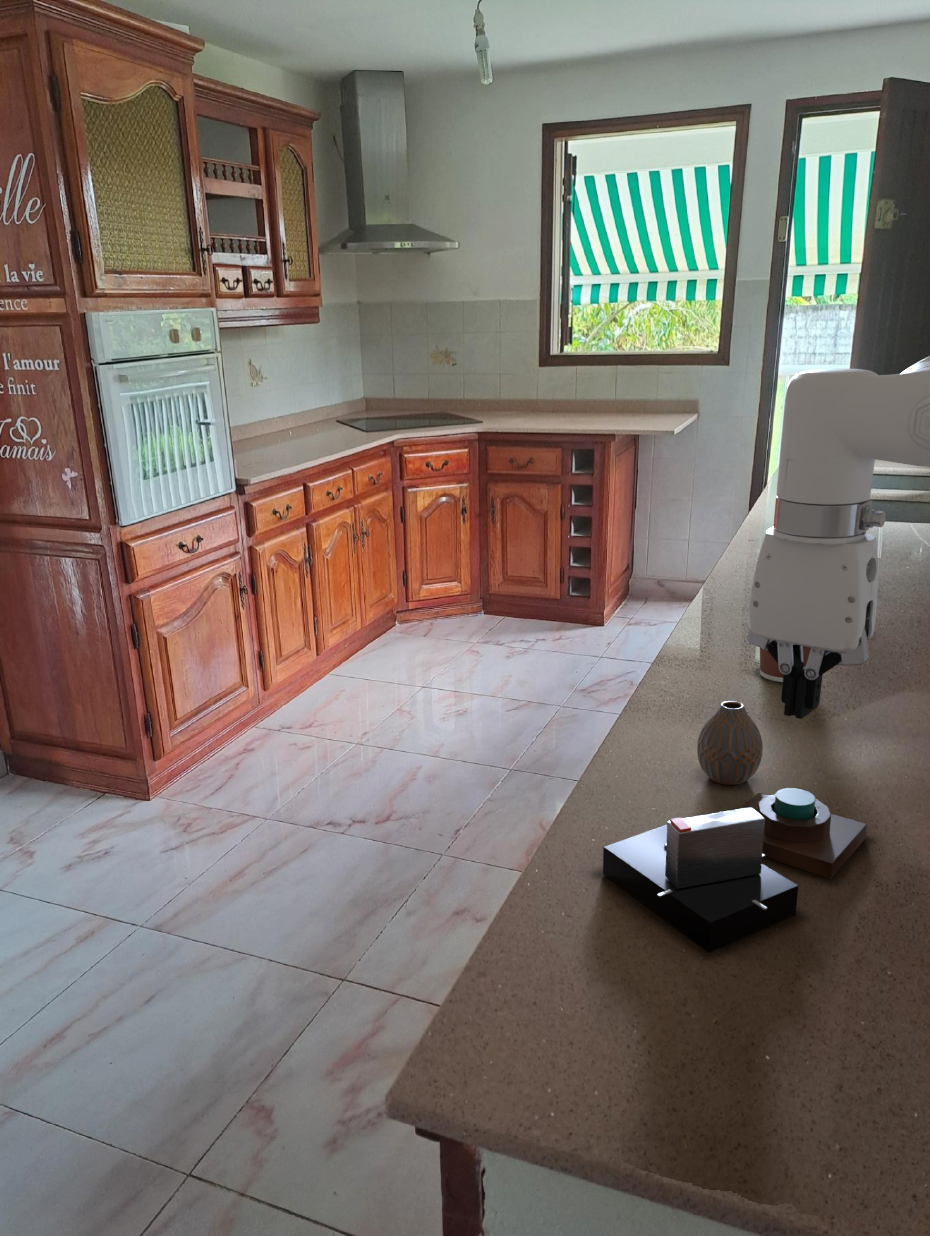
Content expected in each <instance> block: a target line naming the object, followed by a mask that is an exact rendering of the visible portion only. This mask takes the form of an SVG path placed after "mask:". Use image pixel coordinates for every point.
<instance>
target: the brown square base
mask: <svg viewBox="0 0 930 1236" xmlns="http://www.w3.org/2000/svg"><path fill="white" fill-rule="evenodd" d="M775 796H776V793H775V794H772V795H771V794H770V795H767V794H765V793H761V792H757V794H755V795H754V796H753V797H752V798H751V799H750V800H749V801H747V802H746V803H745V804H744V805H743V806H741V807H740V809H744V808H749V807H752V808H753V809H754V810H756V811H757V812H758V813H759V814H760V815H761V816H763V817H764V818H765V828H764V840H763V854H765V857H764V858H766V859H768V860H772V861H775V862H777V863H781V864H784V865H786V866H790V867H792V868H796V869H798V870H801V871H804V872H808V873H811V874H814V875H817V876H820V877H823V878H825V879H828V880H832V878H833V877H834V875H835V874H836V873H837V872H838V871H839V870H840V869H841V868H842V866H843V865H844V864H845V863H846V862H847V861H848V860H849V858H850V857H851V856H852V855H853V854H854V853H855V852H856V850H858V848H859V847H860V846H861V844H862V843H863V842H864V841H865V840H866V837H867V828H868V823H864V822H862V821H857V820H855V819H851V818H848V817H845V816H840V815H837V814H834V813H831V811H830V808H829V806H828V805H826V804H825V803H823V802H821V801H820V800H819V799H816V798H815V809H814V816H813V818H811V819H807V820H793V819H788V818H785V817H781V816H779V815H778V814H776V813H775V811H774V808H775Z"/></svg>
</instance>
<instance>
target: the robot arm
mask: <svg viewBox="0 0 930 1236" xmlns="http://www.w3.org/2000/svg"><path fill="white" fill-rule="evenodd" d="M782 417H783V419H782V428H781V437H780V438H781V440H780V452H779V461H778V471H777V472H778V473H777V482H776V483H777V484H776V497H775V503H774V515H773V524H772V525H773V526H772V527H770V528H768V529H767V530H766V531H765V534H764V537H763V540H762V543H761V547H760V550H759V552H758V557H757V561H756V564H755V570H754V574H753V579H752V584H751V585H752V586H751V591H750V597H749V603H748V604H749V606H748V615H747V617H748V619H747V621H748V628H749V630H748V634H747V637H746V638H747V642H748V643H749V644H751V645H753V646H755V647H757V648H759V649H760V648H762V649H764V650H765V649H766V650H768V652H769V653H770V654H771V656H772V657H773V658H774V659H775V661H776V662H777V663H778V665H779V671H780V672H781V673H782V674H784V675H783V682H782V686H781V695H780V701H781V703H784V707H783V708H784V709H783V715H784V716H786V717H795V719H798V720H803V719H804V718H805V717H806V716H808V715H809V714H810V713H812V712H813V711H815V710H816V709H817V708H818V707H819V704H820V701H821V691H822V685H823V684H822V683H823V676H824V675H823V674H825V673H827V672H828V671H830V670H832V669H833V668H835V667H836V666H861V665H863V664H864V663H865V662H867V661H868V660H869V658H870V653H869V644H868V640H870V639H871V638H873V635H874V632H875V628H876V621H877V612H878V611H877V610H878V591H879V590H878V589H879V588H878V587H879V560H878V547H877V546H878V545H877V537H876V536H875V535H874V534H871V533H870V534H869V533H867V531H869V529H873V528H875V527H876V528H883V527H884V525H885V522H886V518H887V513H886V511H884V510H877V508H874V507H873V499H871V494H872V485H873V477H874V471H875V463H876V460H877V461H881V462H883V461H884V462H890V463H897V464H902V465H908V466H915V467H916V466H917V467H928V468H929V467H930V355H929V356H927V357H925V358H923V359H921V360H919V361H917V362H916V363H914V364H912V365H910V366H909V367H907V368H906V369H905V370H903V371H902V372H901V373H896V374H895V373H894V374H880V375H879V374H878V373H876V372H874V371H872V370H869V369H862V368H818V369H809V370H805V371H800V372H799V373H796V374H795V375H794V376H792V378H791V379H790V380H789V382H788V384H787V386H786V391H785V398H784V405H783V416H782ZM803 646H806V647H811V650H810V653H809V657H808V661H807V664H806V667H804V663H803Z"/></svg>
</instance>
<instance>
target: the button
mask: <svg viewBox="0 0 930 1236" xmlns="http://www.w3.org/2000/svg"><path fill="white" fill-rule="evenodd" d="M775 794H776V796H775V808H774V811H775V813H776V814H778V815H779V816H781V817H785V818H788V819H793V820H807V819H811V818H813V816H814V809H815V799H816V796H815V795H814V794H813V793H811V791H808V790H805V789H800V788H797V787H796V788H795V787H786V788H781V789H779V790H778V791H776V792H775Z"/></svg>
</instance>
